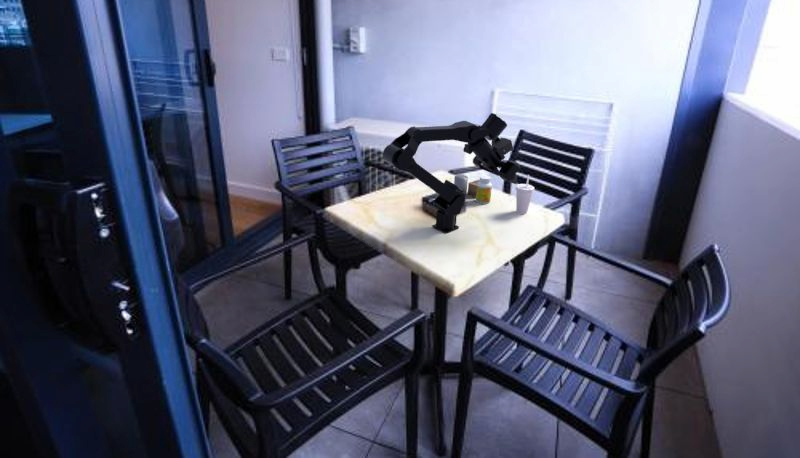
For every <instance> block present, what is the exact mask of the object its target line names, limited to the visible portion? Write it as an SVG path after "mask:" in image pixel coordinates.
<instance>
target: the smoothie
mask: <svg viewBox="0 0 800 458" xmlns="http://www.w3.org/2000/svg"><path fill="white" fill-rule="evenodd" d="M529 181H530V174H527V177H526V183H520V184H519V183H517V185H516V184H515V185H516V186H515V190H516V196H515V197H516V198H515V199H516V201H515V202H516V203H515V204H516V206H515V207H516V208H515V209H516V210H515V211H516V213H517V214H519V215H526V214H528V211H529V207H530V203H531V201H532V196H533V193H534V192H535V186H533V185H532V184H529Z"/></svg>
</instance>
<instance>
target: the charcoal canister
mask: <svg viewBox="0 0 800 458" xmlns="http://www.w3.org/2000/svg"><path fill="white" fill-rule="evenodd" d="M453 179H454V181H453V184H455V185H456V186H457V187H458V188H460V189H462V190H463V191H464V192H462V193H464V194H465V196H466V197H465V199H466V198H467V195H468V183H469V177H468V176H467V175H464V174H456V175H454V178H453Z"/></svg>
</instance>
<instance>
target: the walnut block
mask: <svg viewBox="0 0 800 458" xmlns="http://www.w3.org/2000/svg"><path fill="white" fill-rule="evenodd" d="M478 182H480V179H477V180H473V181H469V182H467V196H470V197H473V198H475V199H476V193H477V184H478Z"/></svg>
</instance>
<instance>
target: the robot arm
mask: <svg viewBox="0 0 800 458" xmlns="http://www.w3.org/2000/svg"><path fill="white" fill-rule="evenodd" d="M507 127H508V124H507V122H506V121H505V120H503V119H502V118H501V117H499V116H498V115H497V114H496V113H493V112H490V114H489V115H488V117H487V118H486V120H485V121H484V122H483V123H482V125H479V124H476V123H473V122H470V121H467V120H461V121H456V122H454V123H452V124H450V125H438V126H434V125H433V126H418V127H417V126H411V127H408V128H407V129H406V131H405V132H403V134H401V135H399V136H398V137H396V138H394V140H392V142H391V143H390V144H388V145H387V146H386V147H385V148H384V149H383V153H382V159H383V160H384V161H385V162H386V163H388V164H389V165H390V166H392V167H394V168H395V169H397V170H400V171H402V172H405V173H408V174H410V175H411V176H413V177H414V178H415V179H416V180H418V181H419V182H421V183H423V184H424V185H425V186H427V187H428V188H429V189H431V190H433V192H434V193H435V194H436V197H435V198H434V200H433V201H432V204H433V207H434V208H435V209H437V210H436V215H435V216H436V218H435V224H433V225H431V226H432V227H431V228H434V229H436V230H438V231H440V232H443V233H445V234H448V233H451V232H453V231H455V230H458V229H459V227H460V226H458V225H457V215H460V214H461V211H462V209H463V206H464V204H465V202H466V198H467V195H466V196H465V194H464V193H462V192H464V191H463V190H462V189H460V188H458V187H457V186H456V185H455V184H454V182H452V181H450V180H448V179H445V181H444V182H442V181H441V180H440V179H439V178H437V177H436V176H434V175H433V174H432V173H430V172H429V171H428V170H426V169H425V168H424V167H422V166H421V165H420V164H419V163H418V162H417V161H416V160H415V157H414V156H415V155H416V154H417V151H418V149H419V146H420V145H421V144H422V143H423V142H425V143H427V142H441V141H443V142H444V141H456V142H457V141H458V142H462V143H464V146H463V152H464V153H466V154H468V155H472V154H474V155H475V156H474V157H473V158H472V164H473V165H474V166H475V167H477V168H479V169H481V170H484V172H488V173H490V174H492V175H495V176H499V177H500V178H501V180H503V181H505V182H508V183H511V184H514V185H516V184H518V177H517V173H518V172H519V170H521V166H520V164H519V162H516V161H514V160H510V159H508V160H507V161H506V162H505V161H504V159H505V158H506V156H505V155H506V154H509V153H510V152H512V151H514V146H513V145H514V144H513V141H512V140H511V139H509V138H506V137H500V135H501V134H502V133H503V132H504V130H505V129H506V128H507ZM490 141H491V142H490ZM404 147H405V148H404ZM465 197H466V198H465Z"/></svg>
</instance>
